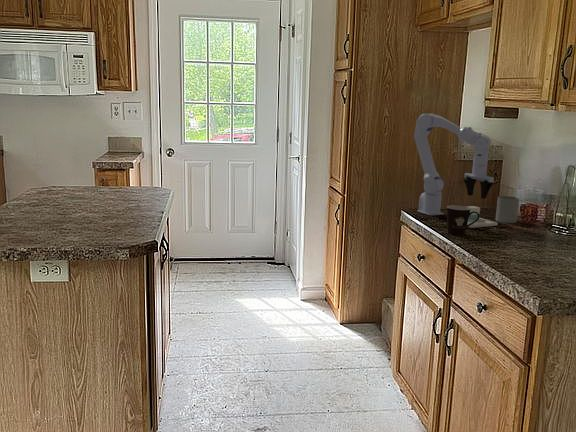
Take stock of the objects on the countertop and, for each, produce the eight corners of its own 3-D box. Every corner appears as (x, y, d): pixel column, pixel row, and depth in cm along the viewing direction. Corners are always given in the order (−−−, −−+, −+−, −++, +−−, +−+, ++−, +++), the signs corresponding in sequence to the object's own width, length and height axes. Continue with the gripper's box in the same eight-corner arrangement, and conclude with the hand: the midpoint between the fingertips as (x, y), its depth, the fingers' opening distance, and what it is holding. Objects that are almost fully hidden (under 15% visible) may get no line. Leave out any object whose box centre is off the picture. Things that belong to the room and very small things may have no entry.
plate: (447, 220, 237) (447, 215, 237) (472, 218, 243) (473, 213, 243) (471, 227, 225) (471, 222, 224) (497, 225, 231) (497, 220, 230)
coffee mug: (442, 234, 212) (444, 208, 210) (447, 229, 220) (449, 204, 218) (474, 238, 207) (476, 211, 205) (478, 233, 215) (480, 208, 213)
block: (464, 219, 234) (465, 206, 233) (471, 218, 236) (473, 206, 235) (471, 221, 231) (472, 208, 230) (478, 220, 233) (480, 207, 232)
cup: (517, 223, 236) (520, 200, 234) (497, 222, 237) (499, 198, 235) (514, 219, 244) (516, 196, 242) (494, 218, 246) (496, 195, 244)
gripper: (460, 163, 241) (457, 194, 243) (486, 167, 228) (482, 200, 231) (472, 162, 244) (469, 193, 247) (498, 166, 231) (495, 199, 234)
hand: (476, 196), depth 239 cm, fingers open, 7 cm apart
